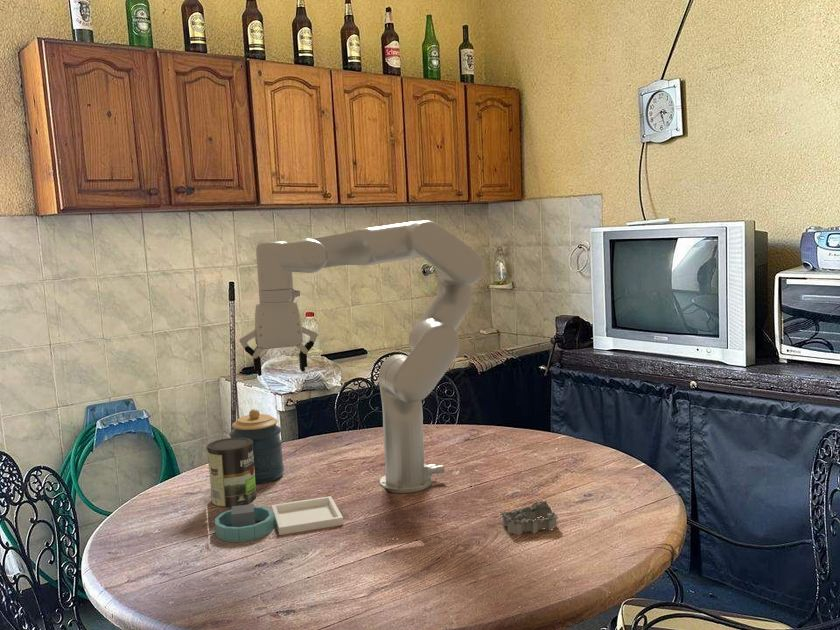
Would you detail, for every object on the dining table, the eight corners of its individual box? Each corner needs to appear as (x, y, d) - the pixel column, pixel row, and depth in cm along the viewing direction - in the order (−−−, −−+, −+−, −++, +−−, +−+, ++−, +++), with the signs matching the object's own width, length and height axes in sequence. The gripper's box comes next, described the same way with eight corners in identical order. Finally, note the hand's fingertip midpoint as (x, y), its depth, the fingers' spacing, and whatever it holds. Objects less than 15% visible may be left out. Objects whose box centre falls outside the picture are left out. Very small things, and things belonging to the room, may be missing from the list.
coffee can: (264, 495, 172) (260, 437, 171) (245, 511, 162) (241, 450, 161) (224, 493, 174) (219, 436, 173) (203, 510, 164) (198, 449, 163)
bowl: (270, 518, 158) (269, 503, 157) (276, 539, 147) (275, 522, 146) (215, 527, 154) (214, 511, 154) (217, 549, 143) (216, 532, 143)
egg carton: (548, 518, 153) (548, 499, 153) (560, 532, 146) (560, 513, 145) (499, 522, 151) (499, 503, 151) (509, 537, 144) (508, 517, 144)
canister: (259, 488, 177) (254, 418, 175) (221, 480, 183) (216, 412, 181) (294, 472, 188) (290, 405, 185) (258, 465, 194) (253, 401, 192)
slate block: (255, 524, 153) (253, 503, 153) (255, 532, 149) (253, 511, 149) (233, 527, 152) (231, 506, 152) (232, 535, 148) (231, 514, 148)
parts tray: (331, 505, 164) (330, 496, 163) (343, 528, 151) (343, 517, 151) (272, 515, 160) (271, 504, 159) (279, 538, 147) (279, 527, 147)
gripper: (312, 293, 168) (316, 366, 170) (235, 298, 162) (240, 373, 164) (317, 295, 161) (322, 371, 163) (237, 301, 155) (243, 379, 157)
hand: (281, 372), depth 164 cm, fingers open, 9 cm apart
